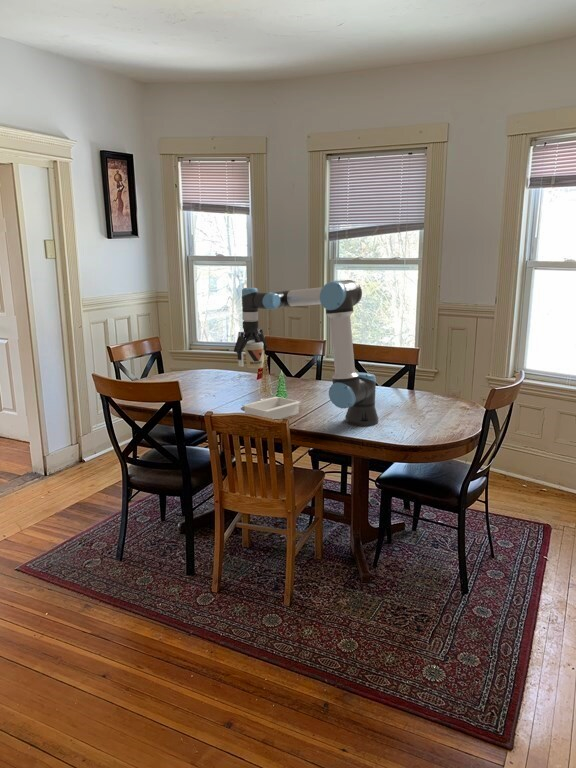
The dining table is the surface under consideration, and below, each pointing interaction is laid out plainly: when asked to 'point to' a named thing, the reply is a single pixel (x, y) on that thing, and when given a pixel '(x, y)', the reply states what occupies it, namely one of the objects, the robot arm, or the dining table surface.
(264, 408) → the white rectangular tray
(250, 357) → the coffee cup
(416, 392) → the dining table surface
